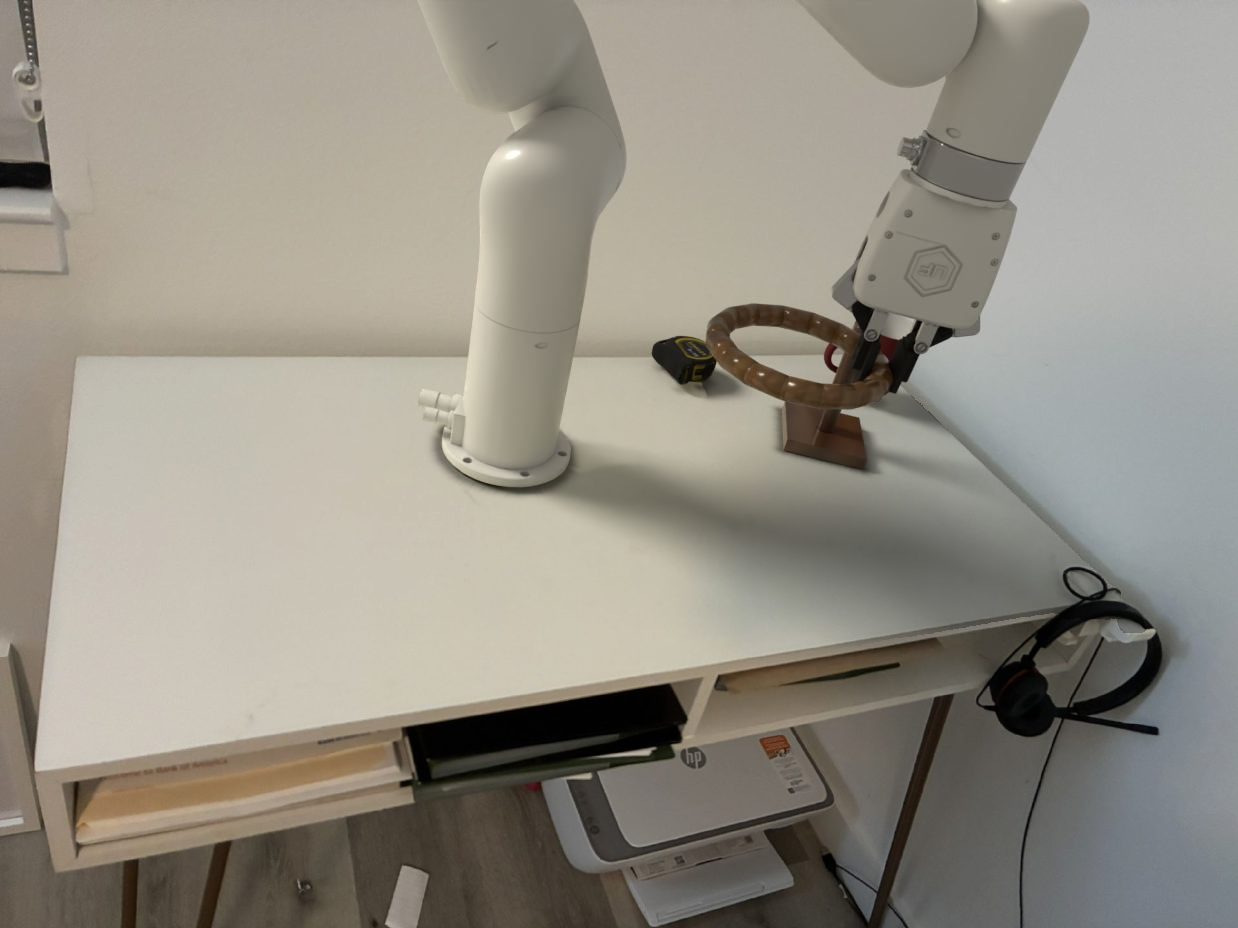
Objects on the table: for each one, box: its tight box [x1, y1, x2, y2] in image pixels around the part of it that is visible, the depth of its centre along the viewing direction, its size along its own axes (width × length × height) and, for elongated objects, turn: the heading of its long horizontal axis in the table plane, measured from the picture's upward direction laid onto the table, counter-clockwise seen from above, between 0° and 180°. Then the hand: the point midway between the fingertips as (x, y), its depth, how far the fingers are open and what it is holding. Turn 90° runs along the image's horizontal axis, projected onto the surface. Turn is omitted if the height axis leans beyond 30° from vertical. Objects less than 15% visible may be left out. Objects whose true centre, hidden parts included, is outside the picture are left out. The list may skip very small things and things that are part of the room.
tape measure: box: [651, 335, 718, 386], centre depth 110 cm, size 7×7×4 cm
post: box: [781, 322, 868, 470], centre depth 101 cm, size 9×9×14 cm
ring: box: [705, 302, 893, 411], centre depth 78 cm, size 16×16×2 cm
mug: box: [823, 313, 914, 397], centre depth 113 cm, size 11×8×10 cm
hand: (874, 380), depth 78 cm, fingers closed on ring, 2 cm apart
